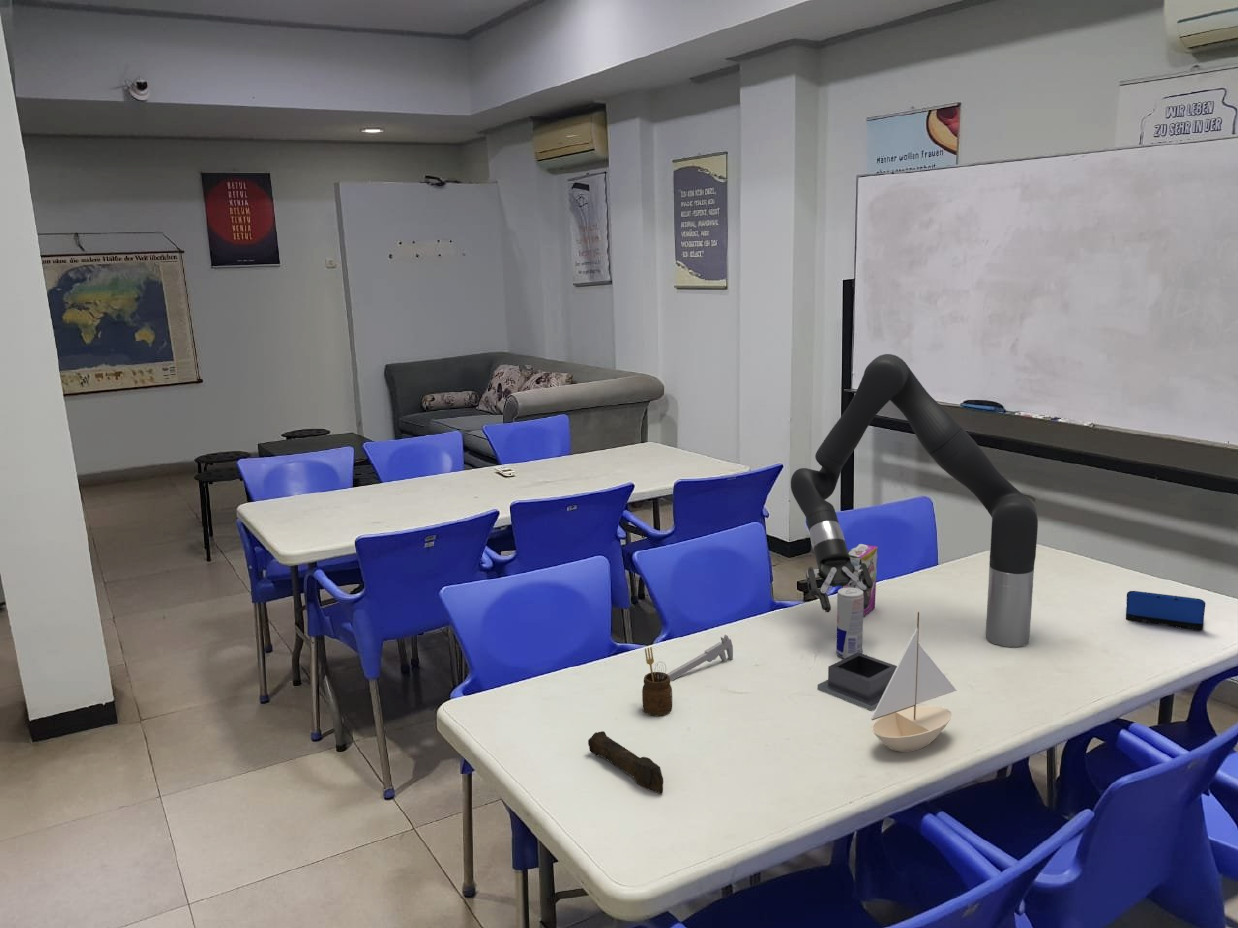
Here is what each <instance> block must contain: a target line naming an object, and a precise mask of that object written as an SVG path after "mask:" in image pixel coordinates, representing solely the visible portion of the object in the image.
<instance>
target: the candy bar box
mask: <svg viewBox="0 0 1238 928" xmlns="http://www.w3.org/2000/svg"><path fill="white" fill-rule="evenodd" d="M878 548H879V547H878V546H875V545H869V544H863V543H859V544H858V545H855V547H853V548H851V549H850V550H848V553H849V556H850V560H851V563H852V565H853V566H859V565H861V564H862V563H865V564H866V566H867V569H868V571H869V574H870V577H871V580H872V582H873V586H872V588H871V589H870V591H867V595H868V599H869V605H868V607H867V608H866V609H863V618H865V617H866V616H867V615H868V614H869V613H870V612H872V611H873V610H875V608H876V593H877V592H876V590H877V573H878V572H877V571H878V569H877V568H878ZM853 574H854V575H855V576H856V577H857V578H859V581H860V582H861V583H862V580H861V577H860V575H858V574H857V572H854V573H853ZM851 581H852V580H851ZM852 582H853V581H852ZM842 588H850V587H849V586H848V585H846V586H841V589H842Z"/></svg>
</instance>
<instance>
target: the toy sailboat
mask: <svg viewBox="0 0 1238 928" xmlns="http://www.w3.org/2000/svg"><path fill="white" fill-rule="evenodd" d="M916 619H917V621H916V627H915V630H914V632H913V634H912V636H911V638H910V640H909V642H908V644H907V646H906V648H905V650H904V652H903V654H902V656H901V658H900V659H899V662H898V663H897V665H896V666H897V668H896V670H895V672H894V674H893V676H892V678H891V680H890V682H889V684H888V686H887V688H886V689H885V691H884V693H883V695H882V697H881V699H880V701H879V703H878V705H877V707H876V709H874V712H873V713H872V715H871V718H870V720H871V721H874V722H873V724H872V725H871V732H872V733H873V734H874V736H875V737H876V738H877V739H879V741H880V742H881V743H882V744H884V745H885V746H886V747H887V748H889V749H890V750H892V751H894V752H900V753H907V752H912V751H913V752H914V751H917V750H918V751H919V750H921V749H924V748H925V747H927V746H929V745H930V744H931V743H932V742H933V741H934V740H935V739H936V738H937V737H938V736H939V735H940V734H941V733H942V732H943V730H944V729H945V727H947V726H948V724H949V722H950V721H951V719H952V716H953V714H952V712H951V711H950V710H949V709H948V708H945V707H942V706H937V705H918V704H921V703H924V702H928V701H930V700H933V699H936V698H939V697H942V696H945V695H947V694H950V693H954V692H957V689H956V688H955V686H954V685H953V684H952V683H951V681H950V680H949V679H948V678H947V677H946V675H945V674H944V673H943V672H942V670H941V669H940V668H939V666H937V664H936V663H935V662H934V660H933V659H932V658H931V657H930V656H929V655H928V653H927V652H926V651H925V649H924V648H923V647H922V646H921V645H920V643H919V635H920V634H919V633H920V632H919V629H920V611H917V617H916ZM917 705H918V706H917Z"/></svg>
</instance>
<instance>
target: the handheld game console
mask: <svg viewBox="0 0 1238 928" xmlns="http://www.w3.org/2000/svg"><path fill="white" fill-rule="evenodd" d="M1125 610H1126V611H1125V612H1126V613H1125V620H1126V621H1128V622H1130V621H1131V622H1136V623H1143V624H1150V625H1151V624H1152V625H1161V626H1166V625H1167V627H1172V628H1177V629H1182V630H1183V629H1185V630H1192V631H1197V632H1199V631H1200V632H1202V631H1203V629H1204V619H1205V611H1206V602H1205V601H1204V599H1201V598H1195V597H1189V596H1188V597H1187V596H1180V595H1172V594H1171V595H1170V594H1164V593H1163V594H1162V593H1154V592H1147V591H1140V590H1139V591H1138V590H1129V591H1128V592H1126V607H1125Z"/></svg>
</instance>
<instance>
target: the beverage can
mask: <svg viewBox="0 0 1238 928" xmlns="http://www.w3.org/2000/svg"><path fill="white" fill-rule="evenodd" d="M836 596H837V598H836V649H835V650H836V651H835V652H836V654H837V655H838V656H839V657H840V658H843V659H845V658H847V657H849V656H851V655H853V654H855V653H857V652H858V653H861V654H863V645H864V644H863V642H864V641H863V639H864V638H863V637H864V636H863V635H864V617H863V606H864V595H863V591H862V590H860V589H858V588H842V587H841V588H840V589H838V590H837V595H836Z"/></svg>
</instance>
